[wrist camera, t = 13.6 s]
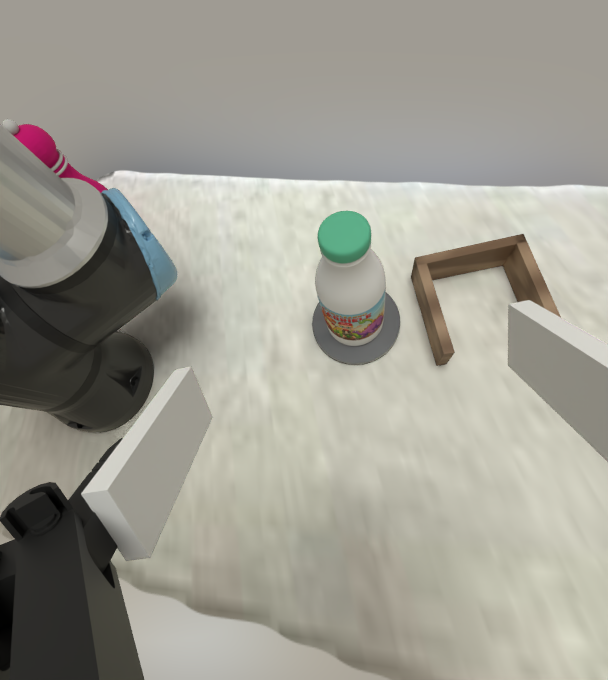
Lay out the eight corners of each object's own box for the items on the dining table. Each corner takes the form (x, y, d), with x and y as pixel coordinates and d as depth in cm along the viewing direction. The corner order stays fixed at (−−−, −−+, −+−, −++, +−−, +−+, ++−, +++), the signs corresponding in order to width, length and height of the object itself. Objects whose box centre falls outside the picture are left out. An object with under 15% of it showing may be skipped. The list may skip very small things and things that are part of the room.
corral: (411, 277, 50) (414, 257, 45) (508, 256, 48) (523, 233, 43) (436, 365, 45) (443, 354, 40) (546, 346, 43) (567, 331, 39)
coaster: (297, 321, 51) (295, 318, 50) (359, 270, 52) (359, 267, 51) (350, 382, 46) (350, 380, 45) (418, 326, 47) (419, 323, 46)
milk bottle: (326, 298, 50) (298, 201, 31) (380, 293, 49) (385, 187, 30) (328, 349, 47) (299, 275, 29) (386, 345, 46) (395, 264, 28)
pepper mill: (131, 202, 65) (36, 99, 47) (119, 235, 63) (14, 140, 45) (99, 203, 67) (-6, 103, 49) (86, 235, 65) (-28, 143, 46)
